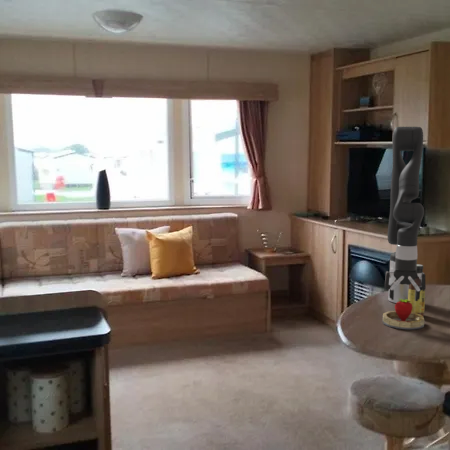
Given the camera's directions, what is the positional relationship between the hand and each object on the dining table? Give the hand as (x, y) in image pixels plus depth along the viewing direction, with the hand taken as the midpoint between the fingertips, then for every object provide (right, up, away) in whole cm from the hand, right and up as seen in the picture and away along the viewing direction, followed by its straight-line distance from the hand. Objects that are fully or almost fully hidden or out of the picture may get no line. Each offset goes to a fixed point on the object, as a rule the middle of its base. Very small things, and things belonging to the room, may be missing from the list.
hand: (404, 299), depth 216 cm
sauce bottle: (+8, -8, +12) cm, 16 cm away
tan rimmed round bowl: (0, -9, +1) cm, 9 cm away
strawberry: (0, -8, +1) cm, 8 cm away
